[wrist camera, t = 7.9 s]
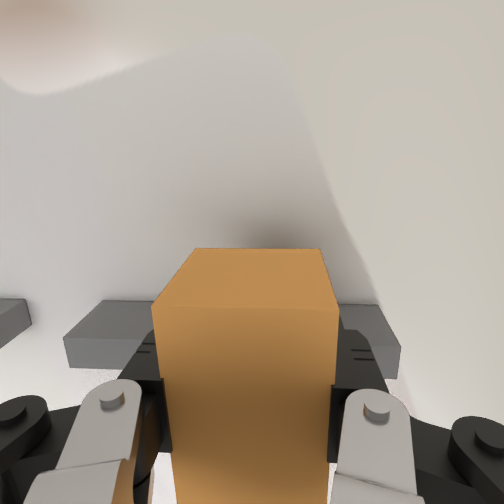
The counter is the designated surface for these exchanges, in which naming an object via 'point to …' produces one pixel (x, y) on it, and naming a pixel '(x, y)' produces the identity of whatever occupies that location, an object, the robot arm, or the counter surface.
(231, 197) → the counter surface
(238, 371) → the banded orange pillar
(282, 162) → the counter surface
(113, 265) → the counter surface
